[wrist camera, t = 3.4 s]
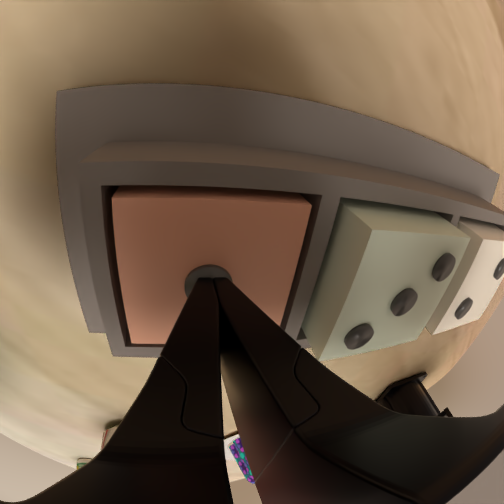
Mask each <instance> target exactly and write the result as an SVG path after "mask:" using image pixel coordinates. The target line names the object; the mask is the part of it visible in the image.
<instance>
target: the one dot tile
mask: <svg viewBox="0 0 504 504" xmlns="http://www.w3.org/2000/svg"><path fill="white" fill-rule="evenodd" d="M311 207H312V205H311V204H310V203H309V202H308V201H307V200H306V199H305V198H304V197H303V196H302V195H301V194H299V193H297V192H286V191H274V190H261V189H246V188H229V187H208V186H177V185H120V186H119V187H118V189H117V190H116V192H115V194H114V195H113V197H112V213H113V226H114V237H115V247H116V256H117V264H118V271H119V278H120V285H121V291H122V297H123V303H124V308H125V314H126V319H127V324H128V329H129V333H130V338H131V342H132V343H136V344H165V343H166V341H167V339H168V337H169V335H170V333H171V330H172V328H173V326H174V324H175V322H176V320H177V318H178V316H179V314H180V312H181V310H182V308H183V306H184V304H185V302H186V300H187V298H188V296H189V294H190V292H191V290H192V288H193V286H194V284H195V282H196V280H197V279H198V278H199V277H210V278H212V279H213V278H214V277H227V278H228V279H229V280H230V281H232V282H233V283H234V284H235V285H236V286H237V287H238V288H239V289H240V290H241V291H242V292H243V293H244V294H245V295H246V296H247V297H248V298H249V299H251V300H252V301H253V302H254V303H255V304H256V305H257V306H258V307H259V308H260V309H261V310H262V311H263V312H264V313H266V314H267V315H268V316H269V317H270V318H271V319H272V320H273V321H274V322H275V323H276V324H277V325H279V326H280V324H281V321H282V317H283V314H284V310H285V307H286V303H287V300H288V296H289V293H290V289H291V285H292V282H293V278H294V274H295V270H296V267H297V263H298V259H299V255H300V251H301V247H302V243H303V240H304V236H305V232H306V227H307V223H308V219H309V215H310V211H311Z"/></svg>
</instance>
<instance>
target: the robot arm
mask: <svg viewBox="0 0 504 504" xmlns="http://www.w3.org/2000/svg"><path fill="white" fill-rule="evenodd" d="M221 374H222V378H223V381H224V385H225V389H226V392H227V396H228V399H229V403H230V406H231V410H232V413H233V416H234V420H235V423H236V426H237V430H238V433H239V436H240V439H241V442H242V446H243V449H244V452H245V455H246V458H247V461H248V464H249V467H250V470H251V473H252V476H253V479H254V481H255V485H256V487H257V490H258V493H259V496H260V498H261V501H262V504H504V404H503V405H502V406H501V407H500V408H499V409H498V410H497V411H496V412H494V413H492V414H490V415H487V416H482V417H453V416H452V414H451V412H450V411H449V409H448V408H445V409H444V411H443V412H441V413H440V411H439V409H438V408H437V406H436V405H435V403H434V401H433V400H432V398H431V397H430V395H429V394H428V392H427V390H426V389H425V387H424V386H423V384H422V383H421V382H422V381H423V380H424V379H425V377H426V376H427V373H426V372H424V373H421V374H419V375H416V376H414V377H411V378H408V379H406V380H403V381H400V382H397V383H395V384H392V385H391V386H389V387H388V388H387V390H386V391H385V392H384V393H383V394H382V396H381V397H380V398H379V399H378V400H377V401H376V402H375V401H374V400H372V399H371V398H369V397H368V396H366V395H365V394H363V393H362V392H360V391H359V390H357V389H356V388H354V387H353V386H351V385H350V384H348V383H347V382H346V381H344V380H343V379H341V378H340V377H339V376H337V375H336V374H334V373H333V372H332V371H330V370H329V369H328V368H326V367H325V366H324V365H323V364H322V363H320V362H319V361H318V360H317V359H316V358H314V357H313V356H312V355H311V354H310V353H309V352H308V351H306V350H305V349H304V348H301V345H300V344H298V343H297V342H296V341H295V340H294V339H293V338H292V337H291V336H290V335H288V334H287V333H286V332H285V331H284V330H283V329H282V328H281V327H280V326H279V325H277V324H276V323H275V322H274V321H273V320H272V319H271V318H270V317H269V316H268V315H267V314H266V313H264V312H263V311H262V310H261V309H260V308H259V307H258V306H257V305H256V304H255V303H254V302H253V301H252V300H251V299H249V298H248V297H247V296H246V295H245V294H244V293H243V292H242V291H241V290H240V289H239V288H238V287H237V286H236V285H235V284H234V283H233V282H232V281H230V280H229V279H228V278H227V277H214V278H213V279H212V278H210V277H199V278H198V279H197V280H196V282H195V284H194V286H193V288H192V290H191V292H190V294H189V296H188V298H187V300H186V302H185V304H184V306H183V308H182V310H181V312H180V314H179V316H178V318H177V320H176V322H175V324H174V326H173V328H172V330H171V333H170V335H169V337H168V339H167V341H166V343H165V345H164V347H163V349H162V351H161V353H160V357H158V359H157V361H156V364H155V366H154V368H153V370H152V372H151V374H150V376H149V377H148V379H147V381H146V383H145V385H144V387H143V388H142V390H141V392H140V393H139V395H138V396H137V398H136V400H135V401H134V403H133V404H132V406H131V407H130V409H129V410H128V412H127V413H126V415H125V416H124V418H123V419H122V421H121V422H120V424H119V426H118V427H117V429H116V430H115V432H114V433H113V435H112V436H111V438H110V439H109V441H108V442H107V444H106V445H105V446H104V447H103V449H102V450H101V451H100V452H99V453H98V454H97V455H96V456H95V457H94V458H93V459H92V460H91V461H89V462H88V463H86V464H85V465H83V466H82V467H80V468H79V469H77V470H76V471H74V472H73V473H71V474H70V475H68V476H67V477H65V478H64V479H62V480H60V481H59V482H57V483H55V484H54V485H52V486H51V487H49V488H47V489H45V490H44V491H42V492H40V493H39V494H37V495H35V496H34V497H31V498H29V499H27V500H24V501H20V502H4V501H1V500H0V504H233V499H232V494H231V489H230V484H229V478H228V473H227V467H226V459H225V448H224V432H223V412H222V389H221Z"/></svg>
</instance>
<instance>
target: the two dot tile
mask: <svg viewBox="0 0 504 504" xmlns="http://www.w3.org/2000/svg"><path fill="white" fill-rule="evenodd" d="M457 228H458V229H460V230H461V231H462V232H464V233H465V234H466V235H468V236H469V237H470V241H469V243H468V246H467V248H466V250H465V252H464V255H463V257H462V259H461V261H460V263H459V265H458V267H457V269H456V271H455V274H454V276H453V278H452V279H451V281H450V283H449V285H448V287H447V289H446V291H445V293H444V295H443V296H442V298H441V300H440V302H439V304H438V305H437V307H436V309H435V311H434V312H433V314H432V316H431V317H430V319H429V321H428V322H427V324H426V326H425V327H426V329H427V330H428V331H429V332H430V334H431V335H434V334H437V333H441V332H444V331H447V330H450V329H453V328H456V327H459V326H461V325H464V324H467V323H470V322H472V321H475V320H478V319H480V317H481V315H482V314H483V312H484V311H485V309H486V307H487V306H488V304H489V302H490V301H491V299H492V297H493V295H494V294H495V292H496V290H497V288H498V287H499V285H500V283H501V281H502V279H503V277H504V231H503V230H501V229H500V228H498V227H497V226H496V225H494V224H493V223H490V222H486V221H481V220H477V219H472V218H467V217H462V216H460V219H459V222H458V224H457Z"/></svg>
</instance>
